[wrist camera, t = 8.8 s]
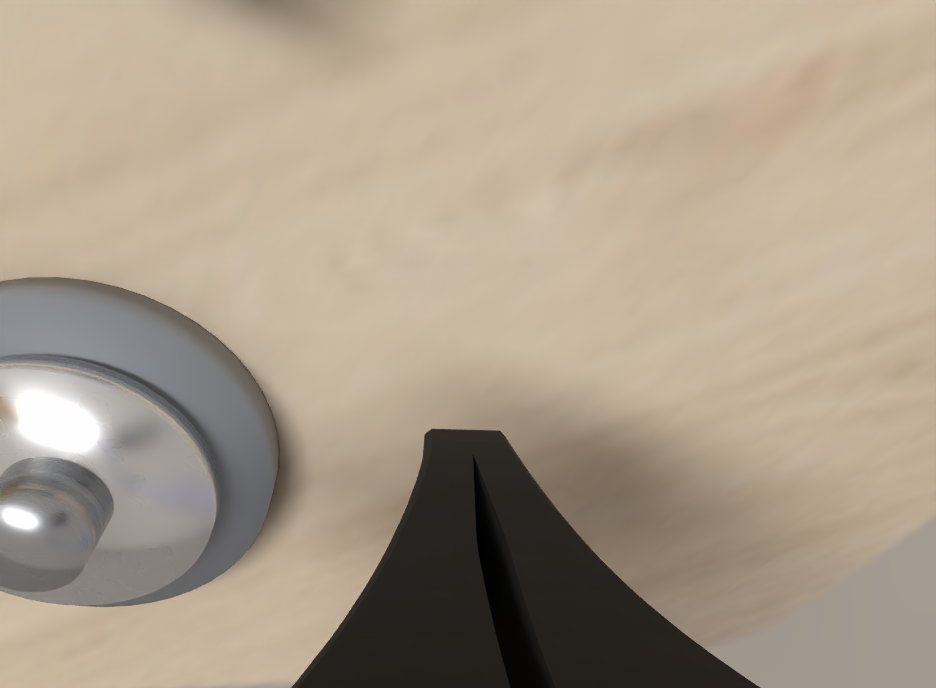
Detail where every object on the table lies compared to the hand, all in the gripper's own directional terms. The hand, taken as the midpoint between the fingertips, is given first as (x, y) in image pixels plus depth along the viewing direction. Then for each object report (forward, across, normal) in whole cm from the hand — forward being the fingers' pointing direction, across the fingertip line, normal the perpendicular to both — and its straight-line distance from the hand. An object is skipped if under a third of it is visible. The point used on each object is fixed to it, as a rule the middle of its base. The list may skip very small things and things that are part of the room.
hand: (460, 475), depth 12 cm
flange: (+7, +11, +6) cm, 15 cm away
